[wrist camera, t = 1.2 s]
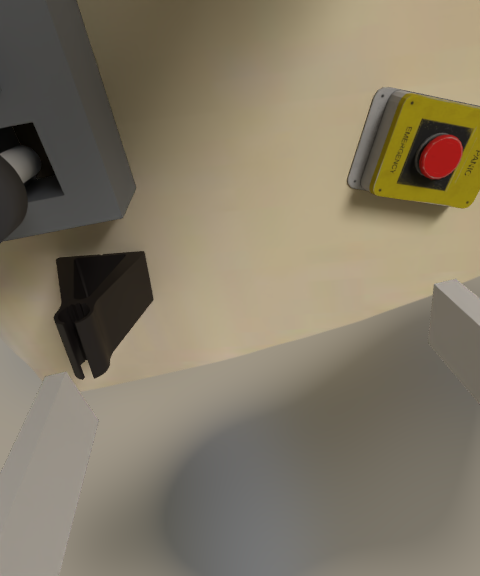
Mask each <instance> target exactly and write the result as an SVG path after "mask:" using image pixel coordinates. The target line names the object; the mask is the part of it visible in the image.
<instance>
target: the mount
mask: <svg viewBox="0 0 480 576" xmlns="http://www.w3.org/2000/svg"><path fill="white" fill-rule="evenodd" d="M0 87H1V89H2V91H0V153H2V152H4V151H6V150H8V149H11V148H13V147H15V146H18V145H21V144H20V142H19V140H18V138H17V136H16V133H15V131H14V129H13V127H12V126H14V125H20V124H25V123H30V122H33V124H34V126H35V128H36V131H37V133H38V135H39V138H40V140H41V142H42V145H43V147H44V149H45V151H46V154H47V156H48V158H49V161H50V163H51V165H52V168H53V170H54V172H55V174H56V175H54V176H49V177H44V178H39V179H36V176H35V175H34V176H33V177H32V178H30V179H29V180H27V181H26V182H25V183H23V184H24V186H25V189H26V193H27V198H28V208H27V213H26V216H25V218H24V220H23V222H22V223H21V224H20V225H19V226H18V227H17V228H16V229H15V230H14V231H13V232H12V233H11V234H10V235H9V236H8V237H7V238H6V239H5V240H3V241H8V240H13V239H18V238H23V237H28V236H33V235H38V234H44V233H49V232H54V231H59V230H64V229H69V228H74V227H79V226H85V225H90V224H95V223H100V222H105V221H110V220H115V219H121V218H123V217H124V214H125V212H126V210H127V208H128V205H129V203H130V201H131V199H132V196H133V194H134V192H135V190H136V186H135V182H134V179H133V176H132V173H131V170H130V167H129V164H128V161H127V157H126V154H125V151H124V148H123V145H122V142H121V139H120V136H119V132H118V129H117V126H116V123H115V120H114V117H113V114H112V110H111V107H110V104H109V101H108V98H107V95H106V92H105V89H104V85H103V82H102V79H101V76H100V73H99V70H98V67H97V63H96V60H95V57H94V54H93V51H92V48H91V45H90V42H89V38H88V35H87V32H86V29H85V26H84V23H83V20H82V17H81V13H80V10H79V7H78V4H77V1H76V0H0Z"/></svg>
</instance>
